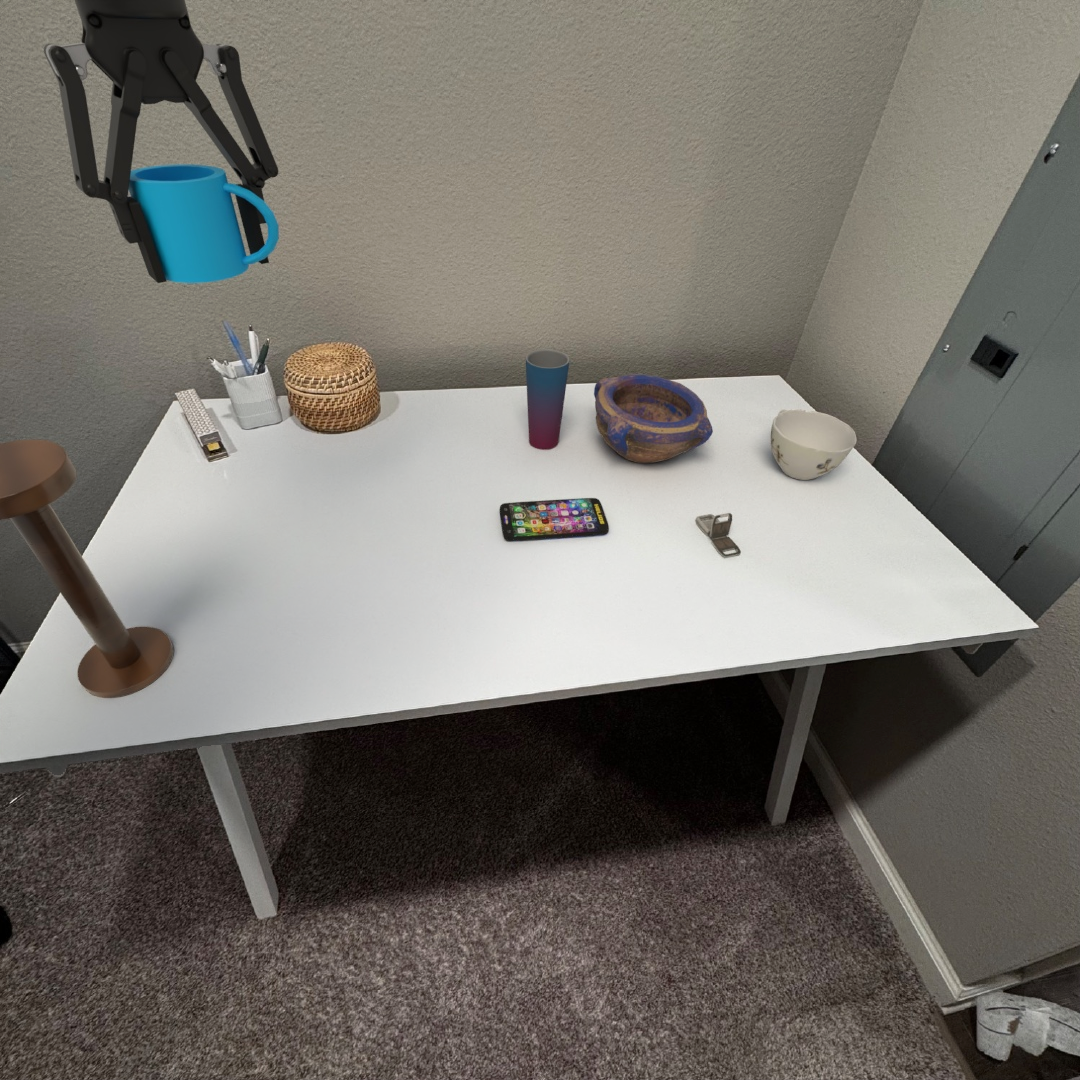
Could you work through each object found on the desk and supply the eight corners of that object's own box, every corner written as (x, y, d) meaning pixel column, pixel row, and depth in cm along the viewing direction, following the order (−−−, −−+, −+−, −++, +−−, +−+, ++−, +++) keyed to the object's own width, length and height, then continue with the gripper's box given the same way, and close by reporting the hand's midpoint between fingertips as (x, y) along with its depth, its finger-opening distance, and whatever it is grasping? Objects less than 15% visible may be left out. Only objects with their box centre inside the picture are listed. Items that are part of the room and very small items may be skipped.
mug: (143, 282, 57) (106, 181, 52) (175, 255, 63) (145, 163, 58) (277, 284, 58) (255, 185, 53) (296, 257, 64) (278, 166, 59)
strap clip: (693, 520, 91) (699, 497, 88) (711, 517, 92) (718, 494, 89) (722, 559, 85) (730, 535, 82) (742, 555, 86) (749, 531, 83)
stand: (93, 713, 64) (-59, 517, 47) (72, 658, 69) (-72, 463, 52) (185, 668, 68) (77, 474, 51) (159, 619, 73) (53, 428, 56)
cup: (515, 439, 106) (516, 356, 96) (544, 426, 109) (548, 344, 99) (542, 457, 102) (546, 372, 92) (571, 443, 105) (578, 359, 96)
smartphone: (498, 502, 91) (599, 496, 93) (498, 507, 91) (598, 501, 93) (503, 537, 85) (611, 530, 87) (503, 543, 86) (610, 536, 87)
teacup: (855, 488, 99) (875, 445, 93) (786, 498, 96) (802, 454, 91) (802, 438, 109) (817, 397, 104) (738, 445, 107) (750, 404, 101)
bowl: (709, 479, 99) (724, 424, 92) (597, 479, 98) (604, 424, 91) (684, 421, 112) (695, 369, 106) (585, 420, 111) (590, 368, 105)
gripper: (243, -42, 53) (300, 240, 68) (-78, -65, 42) (74, 279, 57) (280, -43, 49) (332, 259, 64) (-65, -68, 38) (95, 304, 53)
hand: (211, 268), depth 60 cm, fingers closed on mug, 9 cm apart
